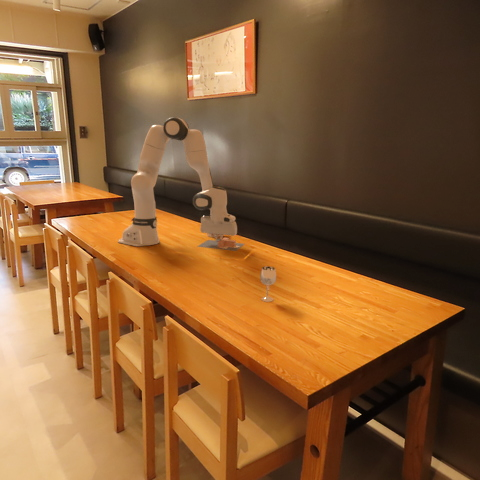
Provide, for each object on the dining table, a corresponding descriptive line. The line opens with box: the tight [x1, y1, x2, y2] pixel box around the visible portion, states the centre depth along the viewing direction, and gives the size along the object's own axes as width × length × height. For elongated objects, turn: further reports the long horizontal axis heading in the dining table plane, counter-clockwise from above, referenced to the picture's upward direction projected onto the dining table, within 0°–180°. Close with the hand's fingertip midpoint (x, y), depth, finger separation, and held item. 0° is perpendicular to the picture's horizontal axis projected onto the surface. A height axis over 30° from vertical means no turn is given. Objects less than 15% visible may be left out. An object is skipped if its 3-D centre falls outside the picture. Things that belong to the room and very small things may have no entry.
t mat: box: [197, 239, 245, 252], centre depth 214 cm, size 22×15×1 cm
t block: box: [218, 237, 237, 248], centre depth 212 cm, size 8×10×3 cm
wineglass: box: [259, 265, 277, 303], centre depth 143 cm, size 6×6×12 cm
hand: (218, 241), depth 214 cm, fingers closed
